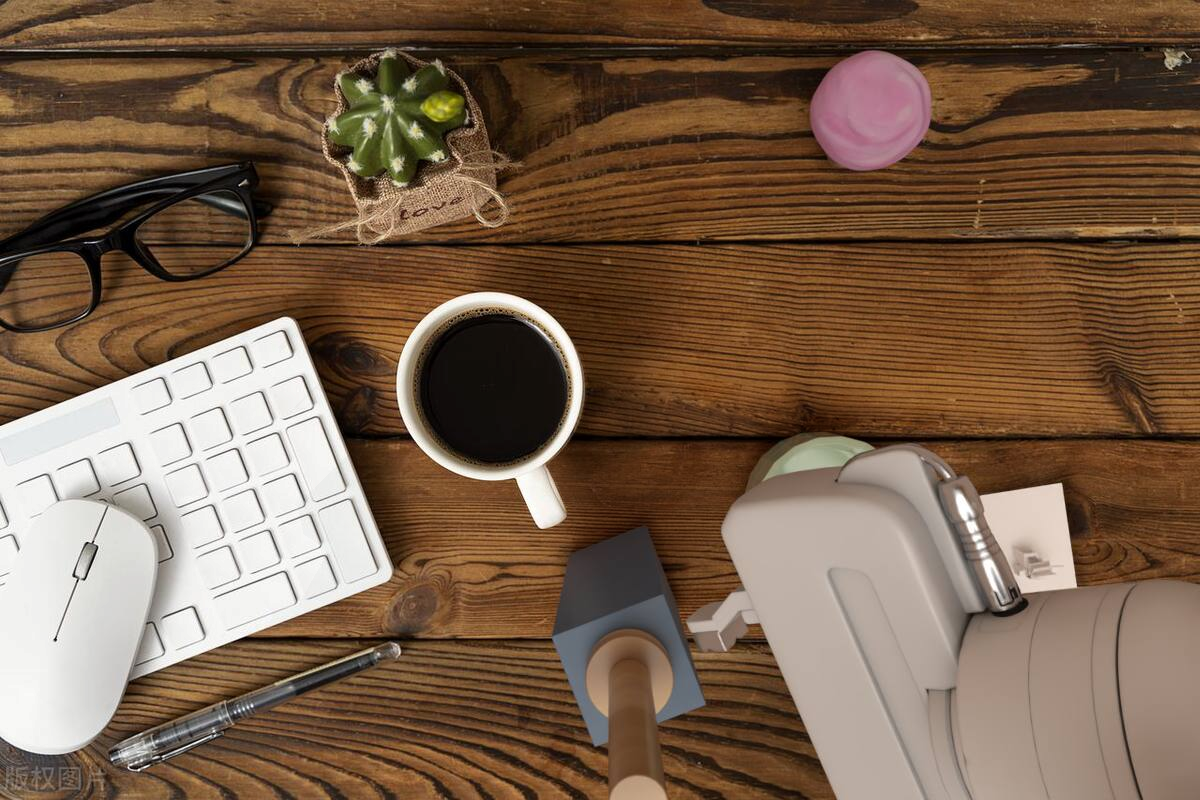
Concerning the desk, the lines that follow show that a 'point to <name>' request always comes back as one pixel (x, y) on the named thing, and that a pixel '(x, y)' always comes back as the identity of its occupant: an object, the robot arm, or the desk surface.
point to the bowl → (805, 455)
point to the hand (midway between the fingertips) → (743, 727)
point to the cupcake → (870, 111)
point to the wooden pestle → (631, 709)
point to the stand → (621, 619)
